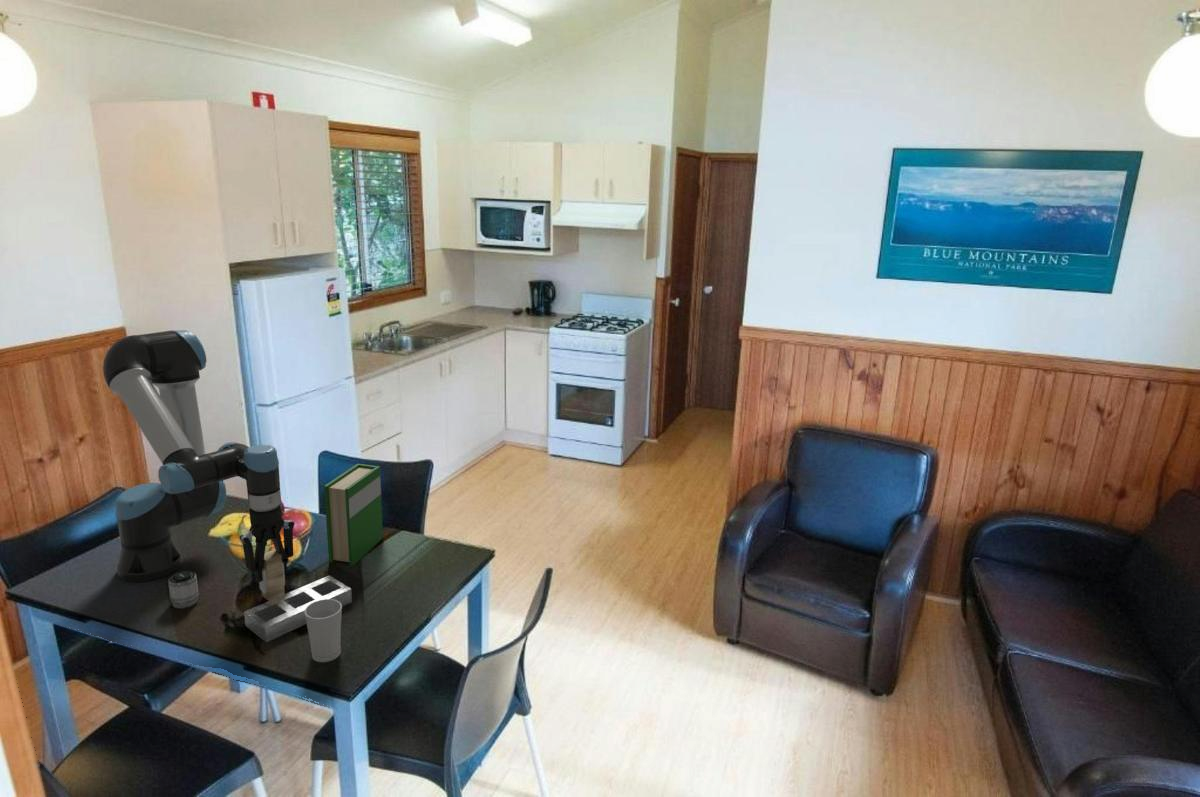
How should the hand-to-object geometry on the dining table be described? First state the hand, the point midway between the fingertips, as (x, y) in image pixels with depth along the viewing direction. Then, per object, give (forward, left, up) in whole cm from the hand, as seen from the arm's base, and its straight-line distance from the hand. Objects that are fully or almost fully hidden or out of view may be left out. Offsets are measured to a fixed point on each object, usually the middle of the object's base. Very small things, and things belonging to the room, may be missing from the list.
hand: (272, 586), depth 184 cm
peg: (0, 0, -3) cm, 3 cm away
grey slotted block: (+12, +1, -3) cm, 13 cm away
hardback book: (-6, +29, -3) cm, 30 cm away
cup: (+31, -4, -3) cm, 32 cm away
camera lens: (-14, -16, -3) cm, 21 cm away
